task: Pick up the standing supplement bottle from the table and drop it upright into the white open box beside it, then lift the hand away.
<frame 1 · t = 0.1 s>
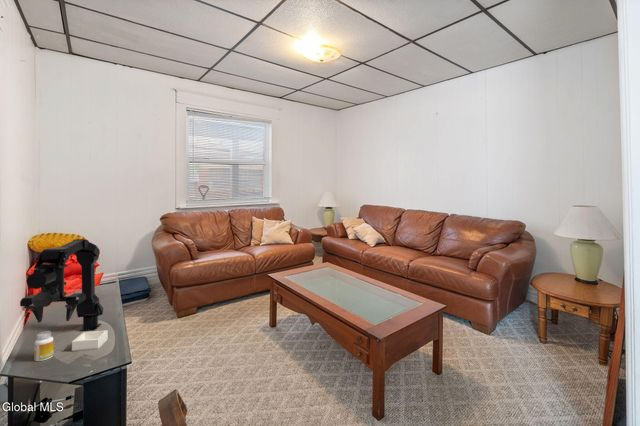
hand: (54, 321, 112), 14 cm above the table, tool pointing down, fingers open, 9 cm apart
white open box: (90, 345, 124), on the table
supplement bottle: (44, 358, 113), on the table
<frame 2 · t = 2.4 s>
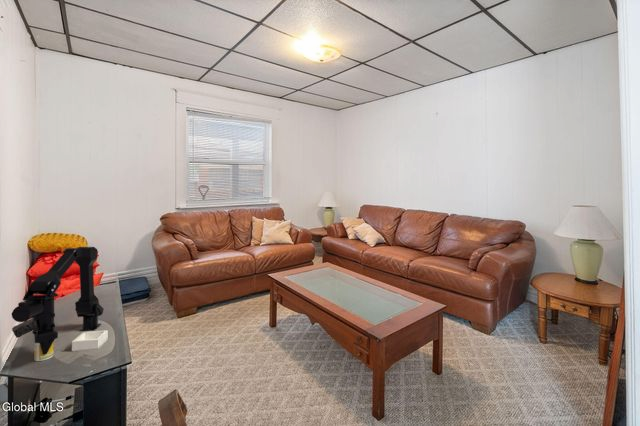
hand: (44, 351, 113), 3 cm above the table, tool pointing down, fingers closed on supplement bottle, 5 cm apart
supplement bottle: (44, 358, 113), on the table, touching gripper
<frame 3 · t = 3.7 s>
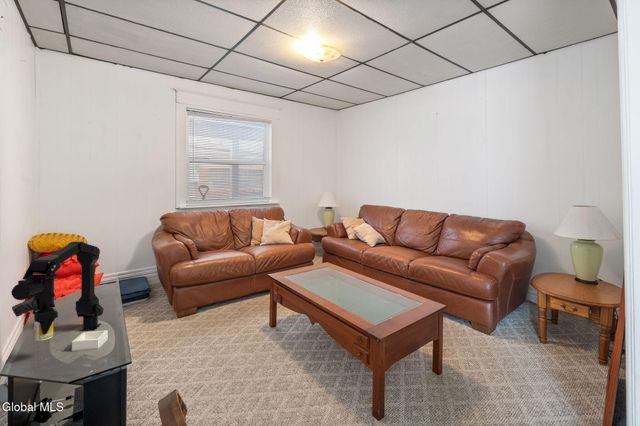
hand: (44, 331, 113), 10 cm above the table, tool pointing down, fingers closed on supplement bottle, 5 cm apart
supplement bottle: (43, 338, 113), point 8 cm above the table, touching gripper
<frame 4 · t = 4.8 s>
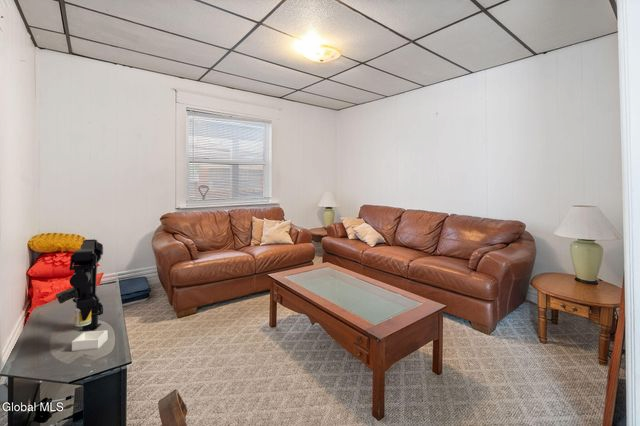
hand: (83, 318, 122), 12 cm above the table, tool pointing down, fingers closed on supplement bottle, 5 cm apart
supplement bottle: (83, 324, 122), point 10 cm above the table, touching gripper
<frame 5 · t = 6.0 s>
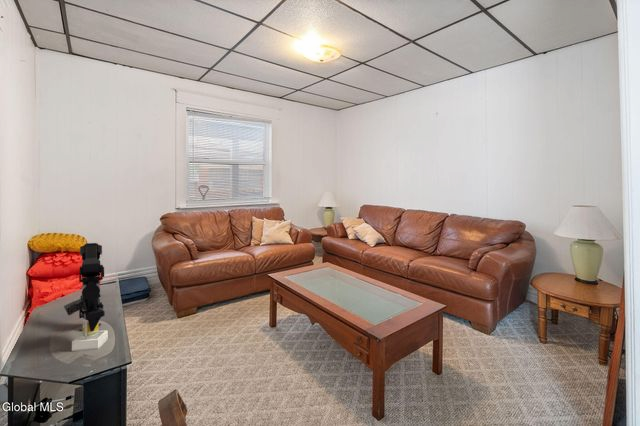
hand: (90, 328, 124), 7 cm above the table, tool pointing down, fingers closed on supplement bottle, 5 cm apart
supplement bottle: (90, 335, 124), point 4 cm above the table, touching gripper
when the fingers open (5 cm above the table, at t = 7.1 s): supplement bottle drops 2 cm, resting on white open box.
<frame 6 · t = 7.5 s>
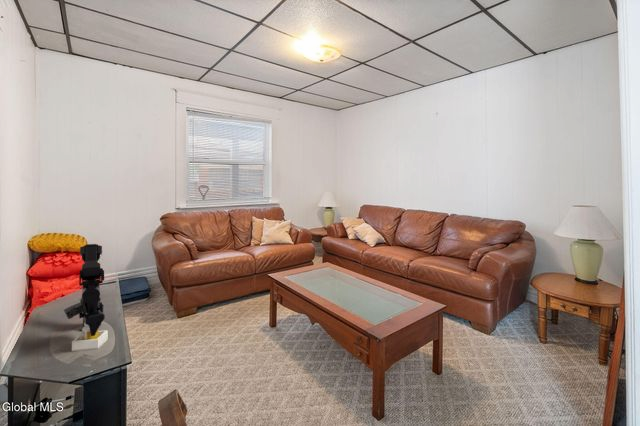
hand: (90, 332, 124), 5 cm above the table, tool pointing down, fingers open, 9 cm apart
supplement bottle: (90, 343, 124), point 1 cm above the table, touching white open box
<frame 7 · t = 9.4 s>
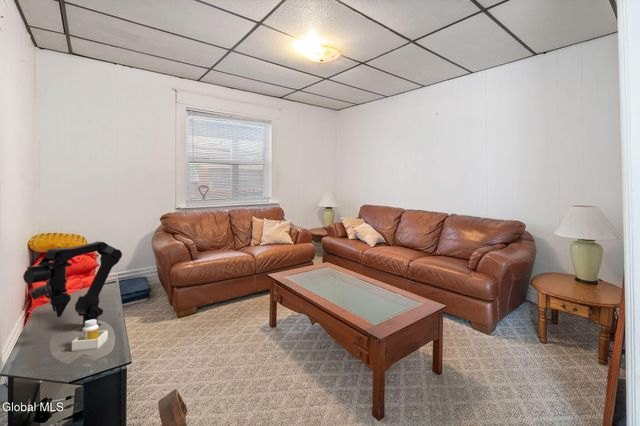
hand: (57, 313, 126), 12 cm above the table, tool pointing down, fingers open, 9 cm apart
nothing on the table moved.
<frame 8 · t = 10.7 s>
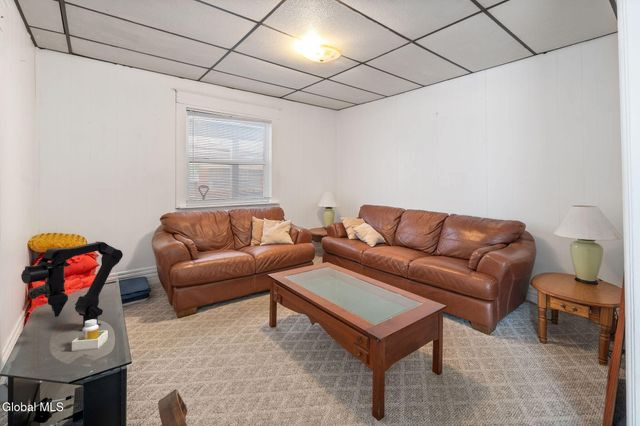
hand: (55, 313, 126), 12 cm above the table, tool pointing down, fingers open, 9 cm apart
nothing on the table moved.
at the end: supplement bottle 0.0 cm off-centre on the white open box, point 0.4 cm above the white open box's base; supplement bottle tilted 0°; the gripper is holding nothing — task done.
